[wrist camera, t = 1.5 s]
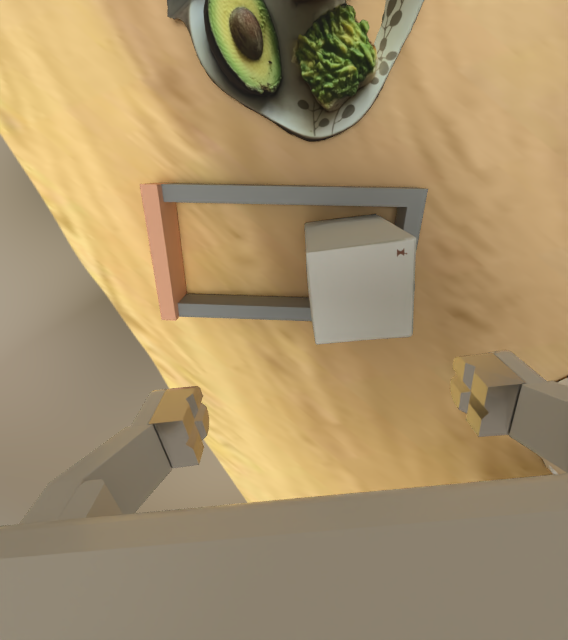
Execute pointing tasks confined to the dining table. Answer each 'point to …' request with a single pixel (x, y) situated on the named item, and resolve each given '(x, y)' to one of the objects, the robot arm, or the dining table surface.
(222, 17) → the salad plate
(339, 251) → the supplement box
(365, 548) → the robot arm
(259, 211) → the dining table surface
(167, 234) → the bay
